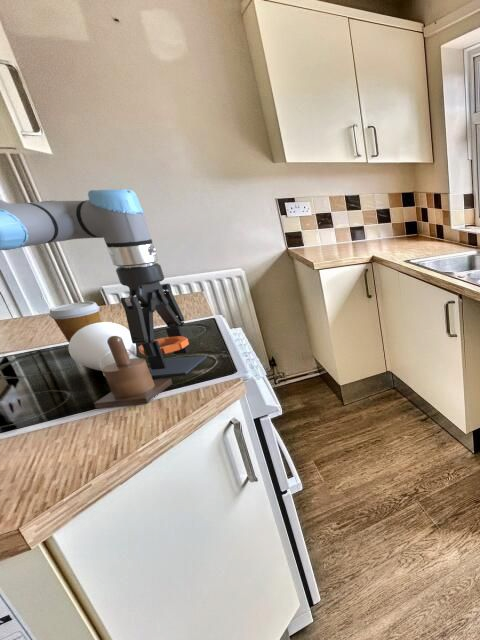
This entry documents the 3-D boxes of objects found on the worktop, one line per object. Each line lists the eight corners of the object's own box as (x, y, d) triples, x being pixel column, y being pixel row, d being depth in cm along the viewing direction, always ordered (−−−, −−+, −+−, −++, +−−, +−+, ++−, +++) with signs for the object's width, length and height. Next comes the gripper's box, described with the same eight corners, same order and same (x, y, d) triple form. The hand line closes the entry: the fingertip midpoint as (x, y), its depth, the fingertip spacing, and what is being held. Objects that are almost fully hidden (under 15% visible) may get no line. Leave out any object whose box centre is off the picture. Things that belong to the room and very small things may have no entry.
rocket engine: (126, 340, 88) (94, 312, 96) (82, 387, 84) (53, 354, 93) (178, 363, 97) (146, 336, 106) (141, 406, 94) (110, 375, 102)
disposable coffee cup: (68, 348, 114) (49, 306, 110) (115, 339, 120) (98, 299, 115) (64, 358, 107) (43, 313, 103) (113, 349, 113) (96, 306, 108)
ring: (132, 357, 93) (130, 351, 93) (155, 343, 101) (153, 337, 101) (175, 353, 95) (174, 347, 94) (195, 340, 103) (193, 334, 102)
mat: (136, 379, 95) (136, 377, 94) (162, 361, 104) (161, 359, 104) (186, 374, 96) (185, 372, 96) (207, 357, 105) (206, 355, 105)
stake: (96, 408, 82) (68, 346, 77) (126, 387, 90) (103, 330, 86) (147, 403, 84) (123, 342, 79) (172, 383, 92) (152, 326, 87)
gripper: (124, 273, 82) (162, 378, 90) (183, 255, 101) (209, 342, 110) (80, 276, 81) (122, 381, 89) (148, 257, 100) (177, 345, 108)
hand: (170, 360), depth 99 cm, fingers closed on ring, 8 cm apart
